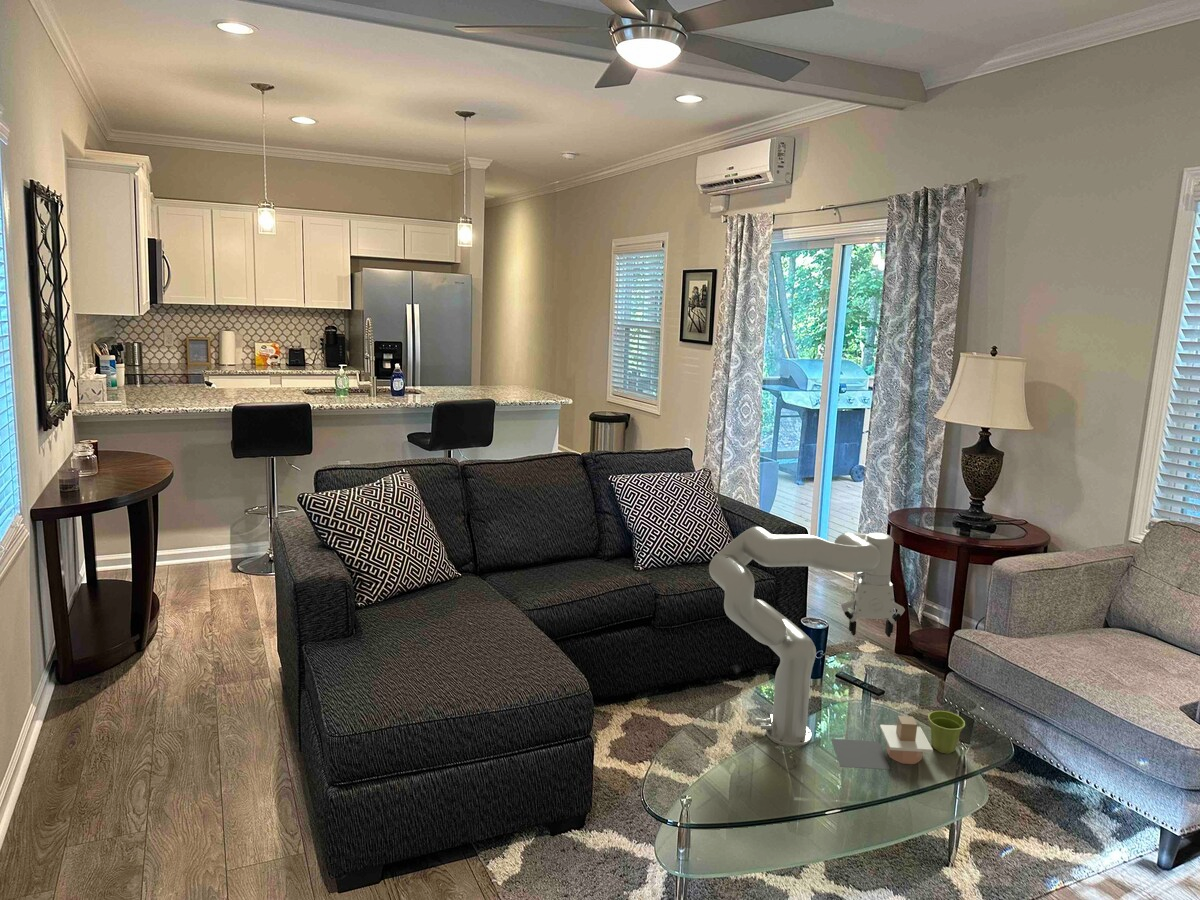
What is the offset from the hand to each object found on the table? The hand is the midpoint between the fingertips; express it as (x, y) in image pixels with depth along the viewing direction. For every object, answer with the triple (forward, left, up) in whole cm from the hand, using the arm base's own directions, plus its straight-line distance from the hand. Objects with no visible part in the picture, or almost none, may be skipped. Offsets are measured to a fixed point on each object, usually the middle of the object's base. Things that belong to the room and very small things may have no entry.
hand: (870, 634), depth 237 cm
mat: (-4, -16, -28) cm, 33 cm away
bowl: (+8, -15, -28) cm, 33 cm away
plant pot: (+20, -10, -28) cm, 36 cm away
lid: (+8, -15, -23) cm, 29 cm away
